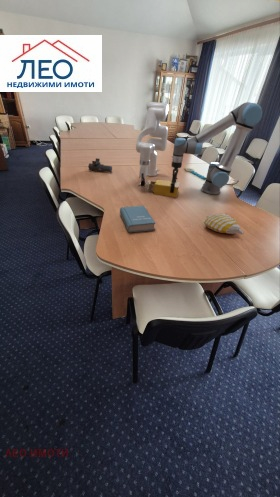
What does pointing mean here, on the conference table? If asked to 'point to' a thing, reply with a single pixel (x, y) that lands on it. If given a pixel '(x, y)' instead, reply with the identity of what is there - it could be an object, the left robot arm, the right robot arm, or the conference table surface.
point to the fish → (223, 224)
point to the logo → (194, 172)
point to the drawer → (148, 185)
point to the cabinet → (165, 188)
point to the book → (137, 219)
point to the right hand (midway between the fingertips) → (172, 190)
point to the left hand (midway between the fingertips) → (142, 186)
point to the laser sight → (99, 166)
